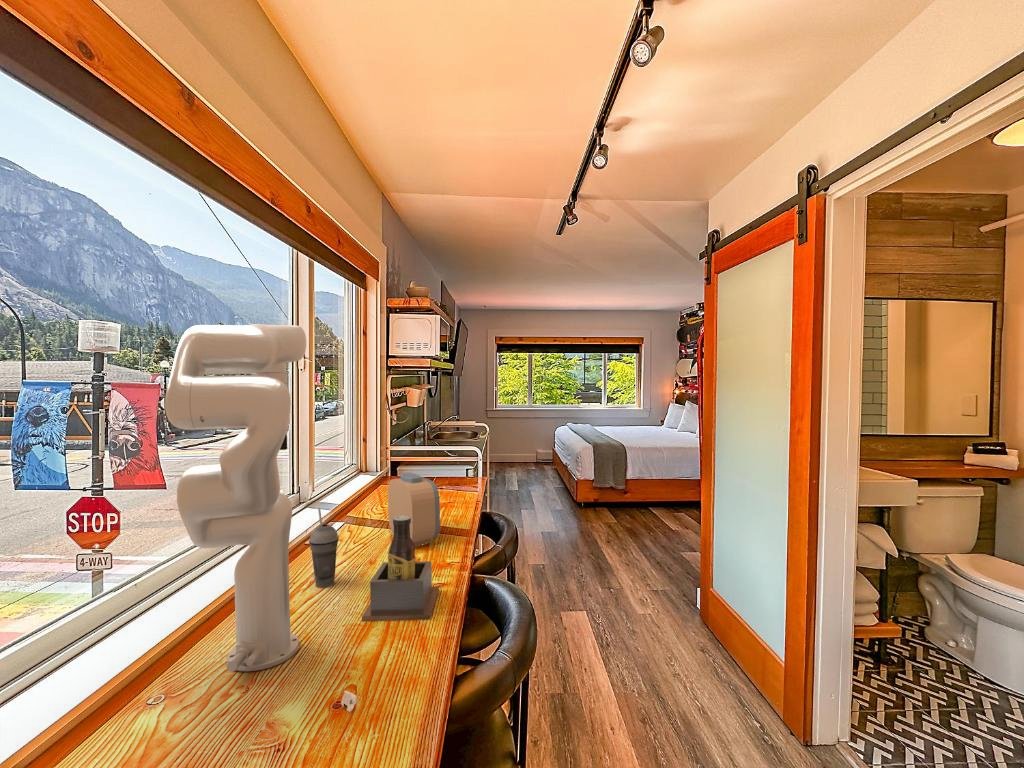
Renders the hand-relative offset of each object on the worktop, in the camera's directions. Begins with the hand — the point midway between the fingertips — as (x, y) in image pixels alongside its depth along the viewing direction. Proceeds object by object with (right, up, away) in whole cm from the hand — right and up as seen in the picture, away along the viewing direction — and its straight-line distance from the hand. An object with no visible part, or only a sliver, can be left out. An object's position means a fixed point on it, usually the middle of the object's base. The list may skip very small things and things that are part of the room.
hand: (271, 452), depth 120 cm
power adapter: (+32, -37, -37) cm, 61 cm away
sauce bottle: (+32, -35, -1) cm, 47 cm away
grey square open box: (+32, -36, -1) cm, 48 cm away
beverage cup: (+9, -36, +12) cm, 39 cm away
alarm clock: (+25, -35, +46) cm, 63 cm away
